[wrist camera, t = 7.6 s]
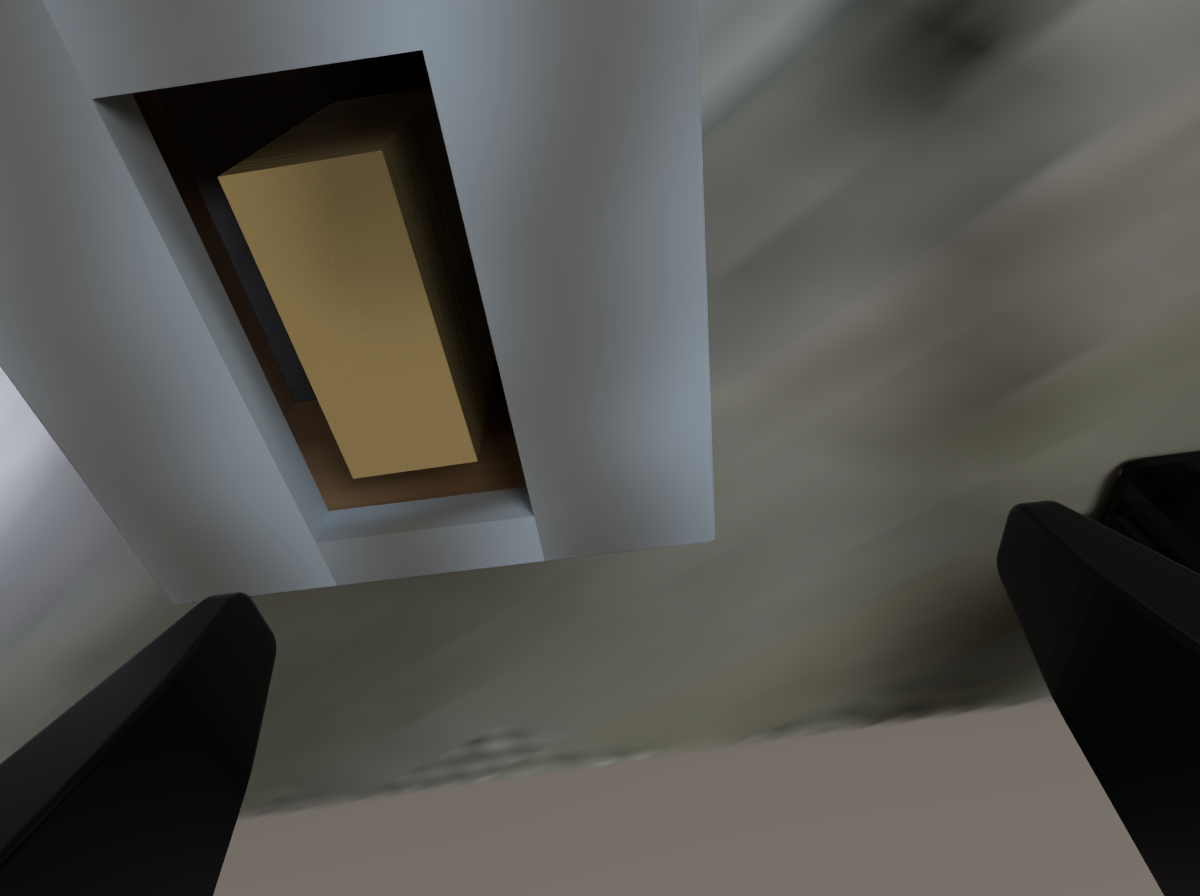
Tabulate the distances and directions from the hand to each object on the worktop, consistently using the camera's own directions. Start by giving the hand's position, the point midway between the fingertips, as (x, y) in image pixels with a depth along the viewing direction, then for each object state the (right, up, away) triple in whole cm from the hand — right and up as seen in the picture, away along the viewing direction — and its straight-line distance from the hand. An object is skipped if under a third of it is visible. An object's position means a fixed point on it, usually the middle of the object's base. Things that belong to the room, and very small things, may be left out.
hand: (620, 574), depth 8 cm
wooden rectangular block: (-5, +7, +9) cm, 13 cm away
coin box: (-5, +7, +9) cm, 13 cm away
